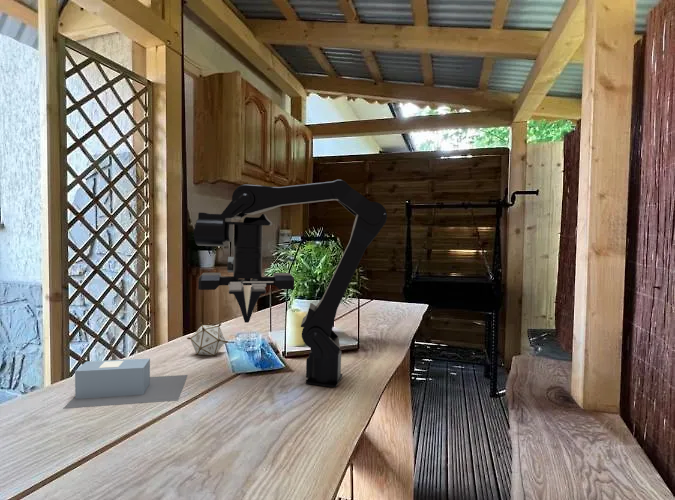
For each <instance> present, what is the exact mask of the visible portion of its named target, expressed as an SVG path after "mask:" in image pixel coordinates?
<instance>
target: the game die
mask: <svg viewBox="0 0 675 500" xmlns="http://www.w3.org/2000/svg"><path fill="white" fill-rule="evenodd" d="M199 324H200V326H199V327H198V329H197V330H196V331H195V333H193V334H192V335H191V337H189V336H188V337H186V339H187V340H190V342H191V345H192V346H193V349H194V351H195V353H196V354H195V356H211V357H212V356H213V357H216V356H217V355H216V354H217V353H218V352H219V351H220V350H221V348H222V347H223V345H224V344H227V343H229V341H228V340H225V337H224V334H223V332H222V329H221V328H220V327H221V326H222V323H219V324H218V325H214V324H213V325H209V324H203V322H202V321H201V322H200V323H199Z"/></svg>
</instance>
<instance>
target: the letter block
mask: <svg viewBox="0 0 675 500" xmlns="http://www.w3.org/2000/svg"><path fill="white" fill-rule="evenodd" d="M150 377H151V358H133V359H132V358H131V359H112V360H111V359H110V360H89V361H85V362H84V363H83V364H81V365H80V366H79V367H78V368H77V369H75V370H74V394H75V396H74V397H75V399H84V398H99V397H114V396H129V395H143V394H144V393H145V391H146V389H147V388H148V386H149V384H150Z"/></svg>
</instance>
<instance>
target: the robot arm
mask: <svg viewBox="0 0 675 500" xmlns="http://www.w3.org/2000/svg"><path fill="white" fill-rule="evenodd" d="M329 201H337V202H338V203H339V204H340V205H342V206H343V207H344V208H345V209H346V210H347V211H348V212H350V213H351V214H352V215H353V216H354V217H355V219H354V221H353V226H352V229H351V234H350V239H349V240H348V244H347V246H346V247H345V250H344V251H343V254H342V256H341V258H340V260H339V263H338V265H337V266H336V268H335V271H334V272H333V274H332V277H331V279H330V281H329V283H328V285H327V286H326V290H325V291H324V294H323V296H322V297H321V299H320V300H319V302H318V303H317V304H316V305H315V304H314V303H312V302H310V304H309V308H308V310H307V311H308V312H307V313H306V315H305V316H303V318H302V320H301V324H300V328H302V331H301V338H302V342H303V343H304V344H305V345H306V346H307V347H308V348H310V350H309V351H308V357H307V358H306V359H305V360H306V365H305V377H306V380H305V384H306V385H313V386H320V387H329V388H336V387H338V385H339V383H340V381H341V379H342V378H343V373H341V371H342V368H341V367H342V350H341V347H340V344H341V343H340V337H339V335H338V334H337V333H336V332H335V331H334V330H333V328H334V323H335V320H336V315H337V311H338V308H339V306H340V303H341V302H342V300H343V297H344V296H345V294H346V291H347V289H348V287H349V285H350V284H351V281H352V279H353V278H354V275H355V273H356V271H357V268H358V267H359V264H360V262H361V261H362V259H363V256H364V254H365V251H366V250H367V248H368V247H369V246H370V244H372V242H373V241H374V239H375V238H376V237H377V236H378V234H379V233H380V231H382V228H384V226H385V224H386V223H387V220H388V213H387V210H386V208H385V207H384V205H383V204H381V203H380V202H376V201H370V200H369V199H368V198H367V197H366V196H364V195H363V194H361V193H360V192H358V191H357V190H355V189H354V188H353V187H352V186H350V185H349V184H348V182H347V181H345V180H343V179H335V180H333V181H325V182H315V183H314V182H313V183H304V184H296V185H287V186H270V185H269V186H267V185H263V184H262V185H260V184H248V183H247V184H246V183H245V184H241V185H239V186H237V187H236V188H235V189H234V191H233V193H232V196H231V201H229V203H228V204H227V206H226V207H225V208H224V210H223V211H222V212H221V213H209V212H200V211H199V212H198V213H197V214H198V215H197V216H198V217H197V220H196V221H195V226H194V228H193V239H194V242H195V245H197V246H199V247H200V246H201V247H203V246H205V247H227V246H228V244H229V242H230V243H231V242H233V256H227V266H226V271H227V273H233V276H222V273H221V272H203V273H202V274H201V275H199V277H198V281H197V282H198V284H197V285H198V289H197V290H198V291H209V290H210V291H212V290H214V291H215V290H216V289H217V288H219V286H228V288H229V290H228V294H229V295H233V296H234V299H236V303H237V304H238V306H239V308H240V311H241V315H242V318H243V320H244V323H245V324H246V323H249V322H250V321H251V319H252V318H251V317H252V315H253V312H254V309H255V306H256V304H257V302H258V301H259V298H260V296H261V295H262V294H264V295H265V294H266V293H267V290H266V287H267V286H275V287H276V288H277V289H279V290H294V289H295V277H294V276H293V275H292V274H291V273H290V272H273V275H272V276H269V275H267V276H264V275H262V274H263V238H264V237H263V233H264V232H263V231H264V228H263V227H264V226H273V222H272V221H271V220H270V219H269V218H268V216H267V214H265V213H264V212H268V211H270V210H273V209H276V208H279V207H280V208H281V207H282V206H283V207H284V206H292V205H302V204H312V203H320V202H329ZM260 213H262V214H260ZM257 214H260V216H259V217H258V216H257V217H256V216H253V217H252V216H247V215H257ZM245 216H246V217H245ZM242 218H244V219H243V221H232V219H238V220H239V219H242ZM244 286H250V290H249V291H250V292H249V297H248V298H249V299H248V304H247V305H246V297H245V296H246V295H245V287H244Z"/></svg>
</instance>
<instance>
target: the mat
mask: <svg viewBox="0 0 675 500" xmlns="http://www.w3.org/2000/svg"><path fill="white" fill-rule="evenodd" d="M188 376H189V374H182V375H181V374H180V375H179V374H178V375H165V376H164V375H162V376H160V375H159V376H150V384H149V386H148V388H147V389H146V391H145V393H144V394H143V395H129V396H114V397H99V398H84V399H75V396H74V397H73V398H72V399H71V400H70V401H69V402H68V403H66V404H65V406H64V407H63V408H62V410H63V409H78V408H81V409H82V408H90V407H94V408H95V407H107V406H119V405H120V406H122V405H123V406H124V405H134V404H150V403H162V402H163V403H164V402H177V401H179V400H180V397H181V394H182V391H183V389H184V386H185V383H186V380H187V378H188Z"/></svg>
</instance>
